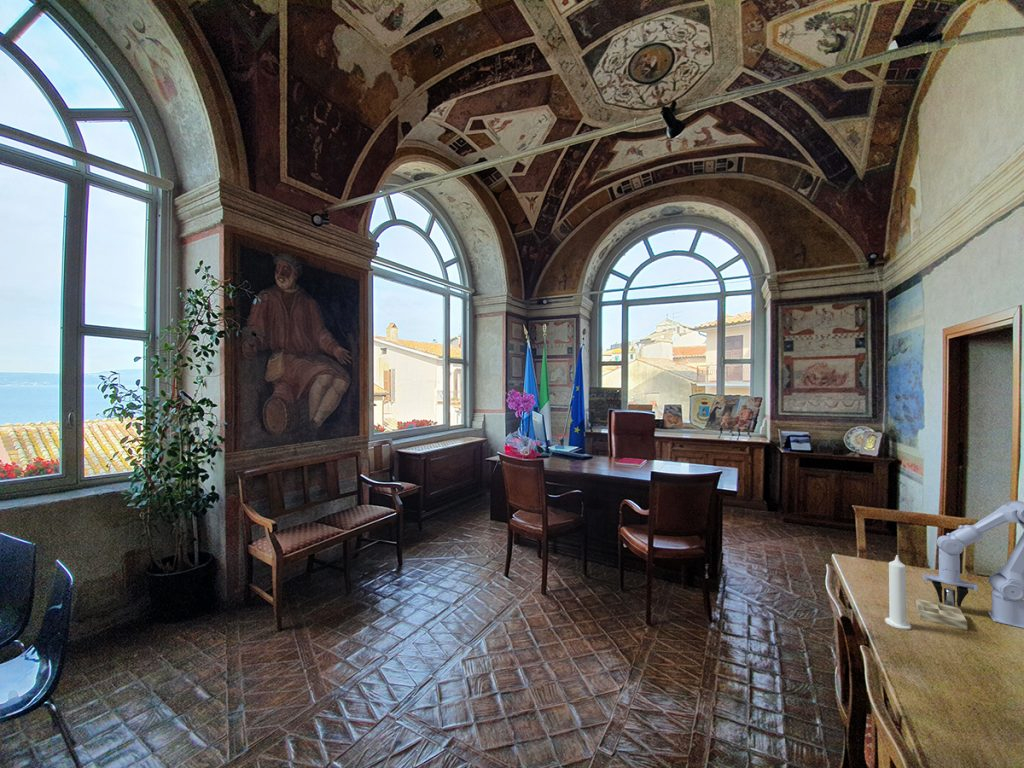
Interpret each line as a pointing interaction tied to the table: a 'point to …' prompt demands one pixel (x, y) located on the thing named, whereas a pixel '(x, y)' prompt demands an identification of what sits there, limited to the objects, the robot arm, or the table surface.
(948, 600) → the pin
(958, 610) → the socket block
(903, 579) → the candle
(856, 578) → the table surface
